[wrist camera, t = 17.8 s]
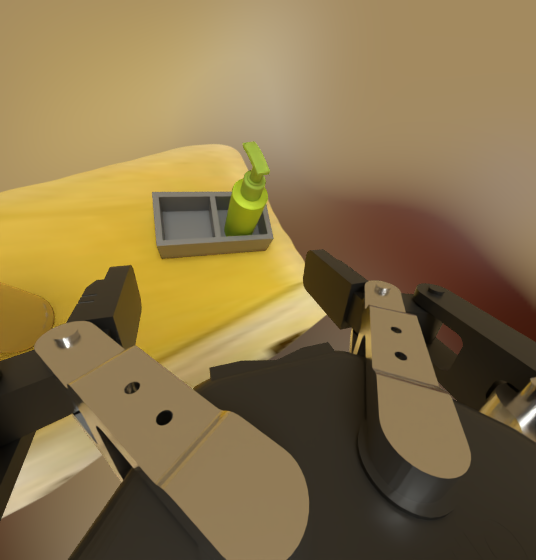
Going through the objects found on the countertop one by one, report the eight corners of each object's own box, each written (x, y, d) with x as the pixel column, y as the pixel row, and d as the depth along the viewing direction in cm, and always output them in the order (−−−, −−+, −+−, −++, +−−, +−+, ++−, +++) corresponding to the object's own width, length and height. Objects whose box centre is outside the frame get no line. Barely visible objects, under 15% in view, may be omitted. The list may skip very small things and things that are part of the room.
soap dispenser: (243, 211, 54) (267, 136, 35) (256, 239, 52) (287, 177, 34) (218, 217, 51) (229, 142, 33) (230, 246, 50) (249, 185, 32)
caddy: (161, 258, 47) (156, 246, 42) (157, 210, 50) (152, 192, 44) (265, 250, 53) (273, 238, 48) (257, 207, 56) (263, 191, 50)
